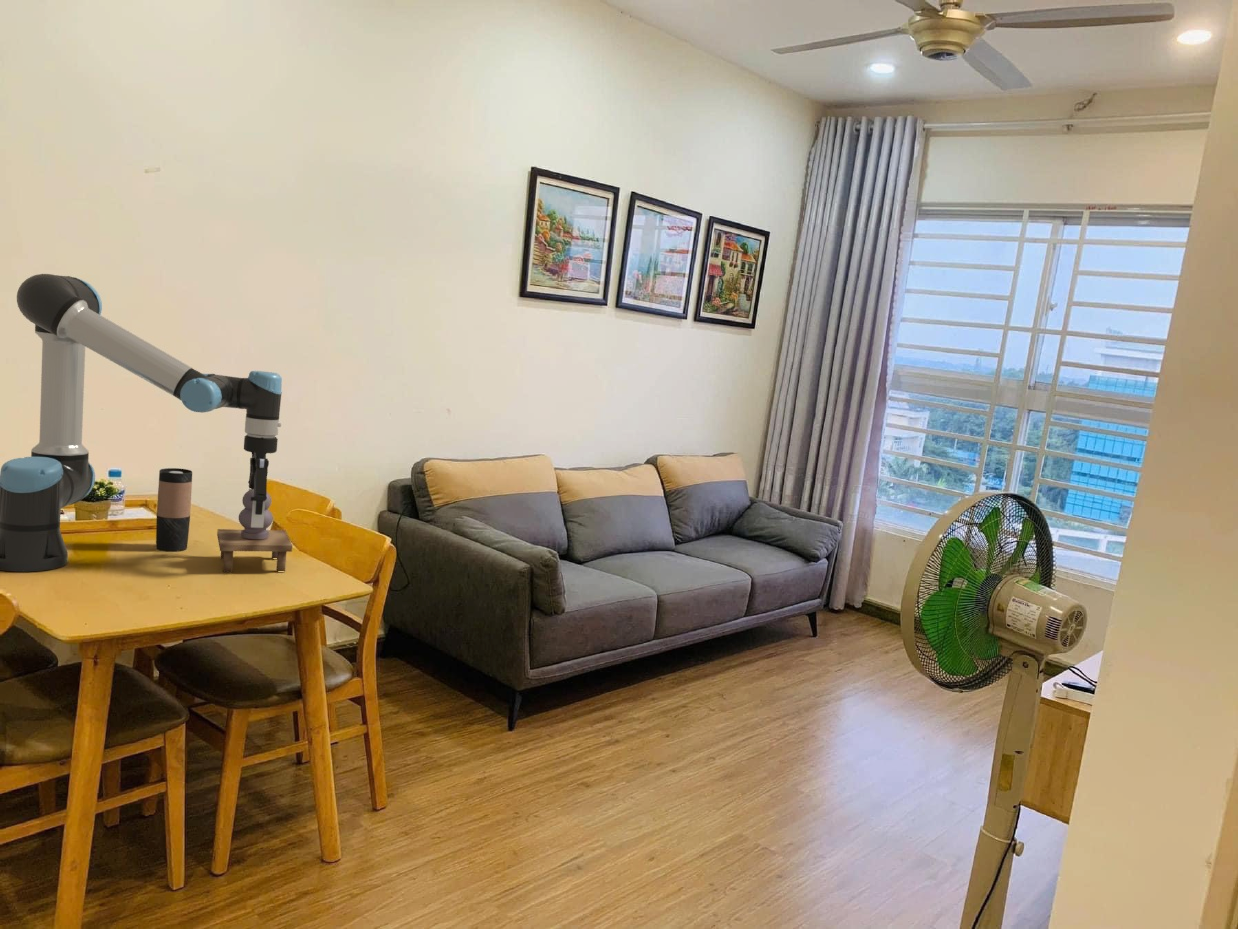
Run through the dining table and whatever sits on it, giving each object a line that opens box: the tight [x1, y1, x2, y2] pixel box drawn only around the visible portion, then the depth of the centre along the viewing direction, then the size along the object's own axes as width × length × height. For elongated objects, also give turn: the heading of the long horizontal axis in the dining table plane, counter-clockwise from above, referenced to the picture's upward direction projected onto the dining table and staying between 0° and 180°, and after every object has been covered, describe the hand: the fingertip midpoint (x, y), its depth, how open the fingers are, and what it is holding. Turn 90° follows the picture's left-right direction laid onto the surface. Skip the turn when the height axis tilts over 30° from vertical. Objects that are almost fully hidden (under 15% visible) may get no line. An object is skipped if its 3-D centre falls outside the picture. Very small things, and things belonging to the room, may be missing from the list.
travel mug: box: [155, 467, 193, 553], centre depth 230 cm, size 8×8×20 cm
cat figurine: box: [238, 488, 274, 539], centre depth 224 cm, size 8×8×12 cm
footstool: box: [216, 528, 293, 574], centre depth 225 cm, size 16×16×7 cm
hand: (254, 521), depth 224 cm, fingers open, 13 cm apart
